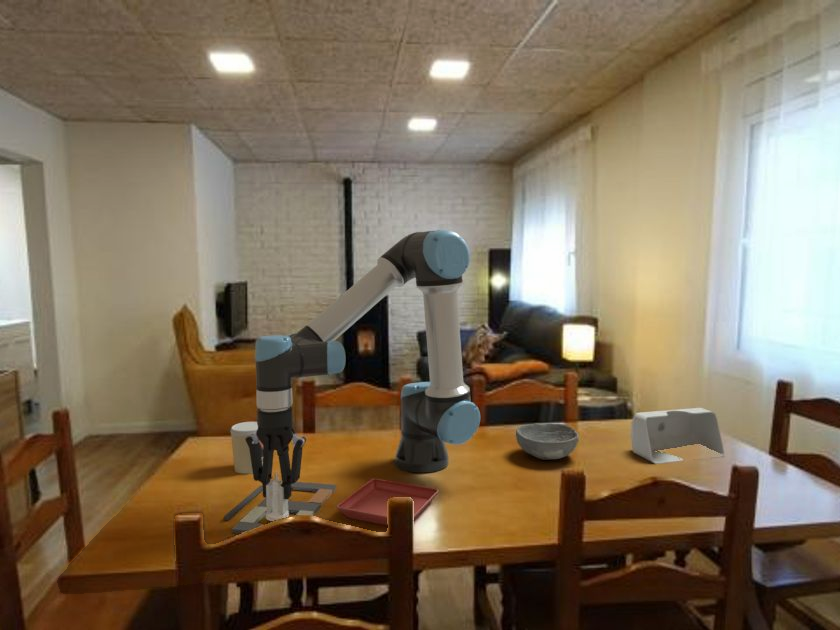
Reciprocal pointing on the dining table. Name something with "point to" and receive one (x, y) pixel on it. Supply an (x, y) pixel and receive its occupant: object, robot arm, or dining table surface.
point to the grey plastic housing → (674, 432)
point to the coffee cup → (243, 446)
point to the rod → (243, 503)
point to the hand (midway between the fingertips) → (277, 511)
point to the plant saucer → (383, 499)
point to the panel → (289, 505)
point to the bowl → (547, 440)
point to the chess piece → (276, 502)
